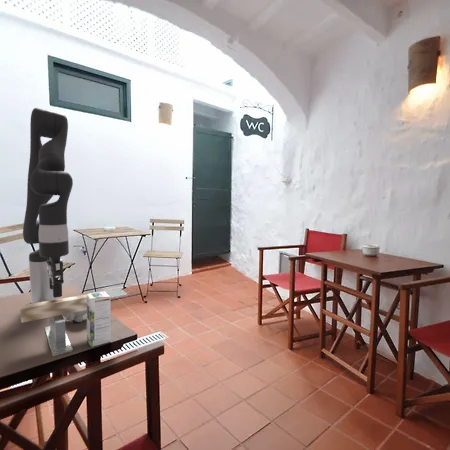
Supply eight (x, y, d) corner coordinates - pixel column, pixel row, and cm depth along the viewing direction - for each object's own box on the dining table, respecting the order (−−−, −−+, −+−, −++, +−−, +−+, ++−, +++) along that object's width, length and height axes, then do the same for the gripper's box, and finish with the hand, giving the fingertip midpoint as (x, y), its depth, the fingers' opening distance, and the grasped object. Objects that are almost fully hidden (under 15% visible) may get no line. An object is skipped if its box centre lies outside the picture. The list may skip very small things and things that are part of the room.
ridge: (44, 328, 96) (43, 305, 95) (61, 324, 99) (61, 301, 98) (52, 356, 80) (51, 328, 79) (72, 350, 83) (72, 323, 82)
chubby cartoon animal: (99, 326, 104) (108, 303, 105) (64, 322, 97) (74, 297, 98) (93, 319, 110) (102, 297, 111) (60, 314, 102) (69, 291, 103)
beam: (88, 306, 95) (87, 293, 95) (90, 309, 93) (90, 296, 92) (20, 319, 84) (20, 305, 84) (21, 322, 82) (20, 308, 82)
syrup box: (86, 339, 89) (85, 293, 88) (106, 334, 93) (105, 290, 91) (90, 347, 85) (89, 299, 83) (111, 341, 88) (111, 295, 87)
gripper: (72, 242, 83) (73, 297, 84) (64, 235, 94) (65, 284, 96) (41, 244, 78) (43, 302, 80) (36, 236, 89) (38, 288, 91)
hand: (55, 292), depth 88 cm, fingers open, 8 cm apart
